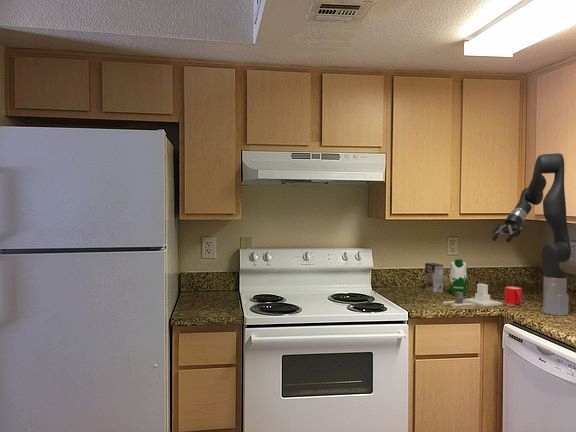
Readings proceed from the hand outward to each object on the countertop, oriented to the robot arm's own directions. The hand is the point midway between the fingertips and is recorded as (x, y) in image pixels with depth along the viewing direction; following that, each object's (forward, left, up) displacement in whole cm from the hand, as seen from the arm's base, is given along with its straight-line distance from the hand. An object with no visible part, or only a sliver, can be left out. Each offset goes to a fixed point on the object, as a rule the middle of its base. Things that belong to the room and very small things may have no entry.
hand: (500, 240), depth 224 cm
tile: (+4, +8, -32) cm, 34 cm away
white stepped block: (+4, +8, -31) cm, 33 cm away
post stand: (+4, +24, -32) cm, 40 cm away
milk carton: (+26, +3, -33) cm, 42 cm away
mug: (-4, -6, -33) cm, 34 cm away
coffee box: (+39, +9, -33) cm, 52 cm away
